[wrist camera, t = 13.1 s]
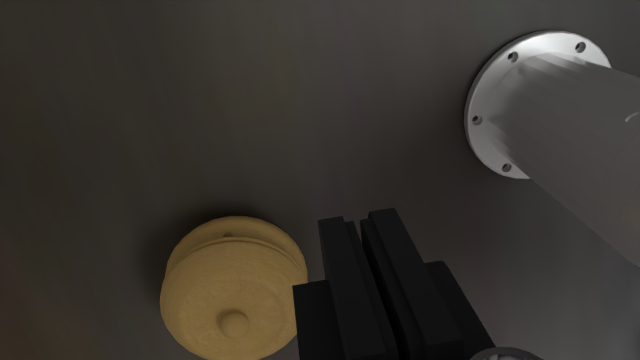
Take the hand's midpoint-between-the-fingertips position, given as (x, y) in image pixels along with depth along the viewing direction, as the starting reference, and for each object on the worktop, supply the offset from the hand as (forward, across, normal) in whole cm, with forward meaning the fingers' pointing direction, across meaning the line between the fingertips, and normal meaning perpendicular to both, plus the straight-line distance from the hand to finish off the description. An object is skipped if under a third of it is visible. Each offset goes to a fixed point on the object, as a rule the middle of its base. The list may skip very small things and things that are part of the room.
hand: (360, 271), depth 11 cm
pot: (+29, +7, +18) cm, 35 cm away
